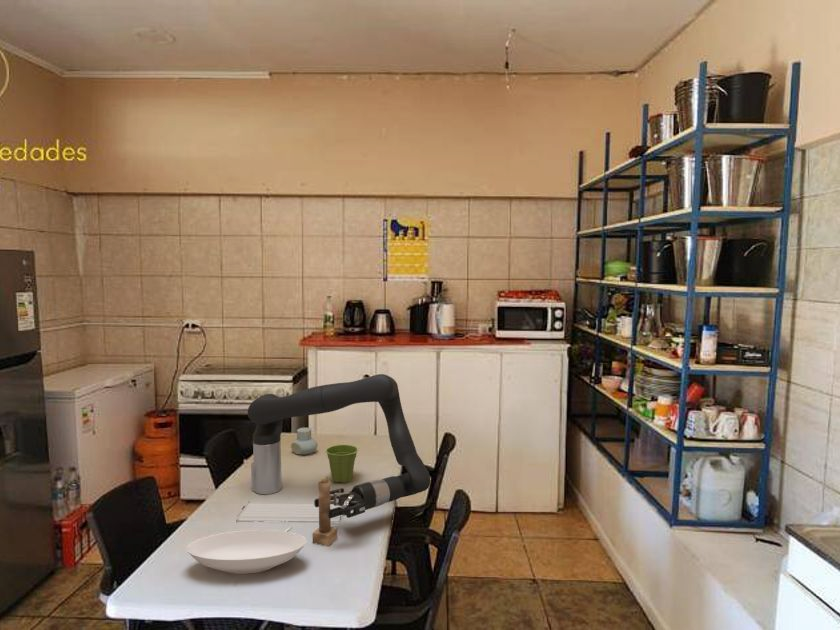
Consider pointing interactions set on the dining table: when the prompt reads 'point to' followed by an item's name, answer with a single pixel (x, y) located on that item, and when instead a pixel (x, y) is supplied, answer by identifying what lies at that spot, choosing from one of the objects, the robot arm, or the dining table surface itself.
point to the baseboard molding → (283, 513)
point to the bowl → (246, 550)
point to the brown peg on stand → (324, 516)
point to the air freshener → (304, 442)
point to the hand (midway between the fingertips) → (321, 508)
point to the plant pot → (341, 462)
